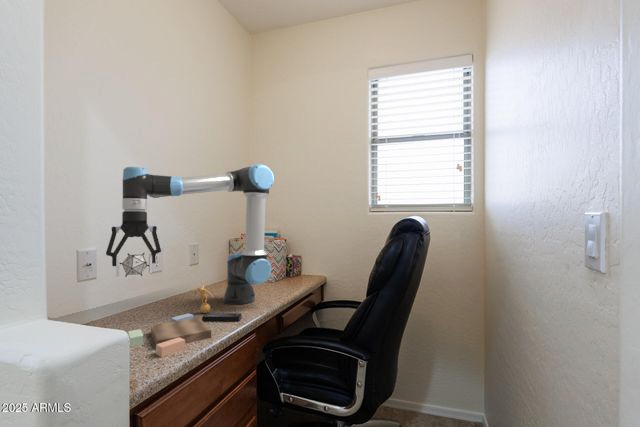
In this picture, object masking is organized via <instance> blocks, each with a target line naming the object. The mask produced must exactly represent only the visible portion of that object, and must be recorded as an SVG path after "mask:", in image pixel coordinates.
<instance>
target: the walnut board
mask: <svg viewBox="0 0 640 427" xmlns="http://www.w3.org/2000/svg"><path fill="white" fill-rule="evenodd" d="M150 335H151V336H152V339H153V341H154V344H155V345H156V344H159V343H163V342H166V341H169V340H172V339H175V338H178V337H180V338H182V339H184V340H185V344H188V343H192V342H197V341H202V340H207V339H211V338H212V329H211V328H210V327H209V326H208V324H206V322H203V321H202V318H200V317H194V318H193V319H187V320H181V321H176V322H171V321H170V322H165V323H160V324H153V325H150Z"/></svg>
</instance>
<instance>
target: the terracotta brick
mask: <svg viewBox="0 0 640 427" xmlns="http://www.w3.org/2000/svg"><path fill="white" fill-rule="evenodd" d="M183 349H184V350H186V343H185V340H184V339H182V338H180V337H178V338H175V339H172V340H169V341H166V342H163V343H159V344H155V355H157V356H159V357H160V358H163V357H164V358H165V357H167V356H169V355H172V353H173V354H174V353H178V352H181V351H183ZM166 355H167V356H166Z"/></svg>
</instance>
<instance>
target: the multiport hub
mask: <svg viewBox="0 0 640 427" xmlns="http://www.w3.org/2000/svg"><path fill="white" fill-rule="evenodd" d="M242 318H243V314H242V313H239V312H238V313H237V312H236V313H233V312H232V313H231V312H227V313H216V312H215V313H212V312H211V313H209V312H208V313H204V315H202V316H201V320H202V321H203V322H204V323H206V322H207V323H213V322H214V323H215V322H217V323H220V322H221V323H223V322H224V323H226V322H227V323H229V322H230V323H231V322H232V323H236V322H237V323H239V322H241V320H242Z"/></svg>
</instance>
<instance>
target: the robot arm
mask: <svg viewBox="0 0 640 427" xmlns="http://www.w3.org/2000/svg"><path fill="white" fill-rule="evenodd" d="M122 172H123V173H122V206H121V207H122V208H121V210H123V211H122V213H121V214H122V215H121V216H122V218H121V220H122V222H121V225H120V226H112V227H111V235H110V238H109V242H108V246H107V248H106V252H105V255H106V256H107V257H111V258H112V259H111V266H112V267H115V276H116V277H120V264H119V263H120V256H118V254H119V252H120V251H121V249H122V248H123V246H124V245H125V243H126V241H127V240H128V238H134V237H136V238H140V237H141V239H142V241H143V242H144V243H145V245H146V247H147V249H148V251H149V252H150V253H149V254H148V265H149V266H148V273H149V274H152V273H153V264H156V255H157V254H159V253H161V252H162V248H161V244H160V242H159V238H158V237H159V236H158V235H157V234H158V233H157V228H158V227H157V226H156V225H153V226H151V225H149V224H148V212H147V211H146V210H148V197H150V198H153V199H159V198H164V197H180V196H182V195H191V194H192V195H193V194H202V193H210V192H221V191H227V193H228V192H243V195H244V197H246V207H245V237H244V239H245V241H244V250H243V251H242V252H241V253H240V252H239V253H231V254H228V256H227V262H226V264H227V271H226V272H227V276H226V279H227V280H226V281H227V284H226V285H227V286H226V287H225V290H224V294H223V300H222V302H223V303H225V304H227V305H228V304H229V305H244V304H245V305H246V304H250V303H253V302H254V301H256V292H255V290H254V287H253V285H257V286H259V285H262V284H264V283H265V282H267V280H269V278H270V276H271V274H272V264H271V263H270V262H269V261H268V253H267V252H266V251H265V230H266V229H265V228H266V200H267V197H269V196H270V189H271V188H272V187H273V185H274V183H275V176H274V173H273V171H272V170H271V169H270V167H268V165H265V164H262V163H260V164H259V163H258V164H253V165H250V166H245V167H242V168H239V169H236V170H232V171H226V172H225V173H221V174H220V173H219V174H207V175H194V176H193V175H192V176H181V177H179V176H174V175H159V174H157V175H156V174H150V173H149V172H148V170H147V168H144V167H140V166H127V167H125V168H123V170H122ZM120 230H121V231H122V233H124V234H123V236H122V238H121V240H120V241H119V243H118V244H117V246H116V247H115V249H114V251H113V252H112V250H113V246H114V244H115V240H116V237H117V234H118V233H119V232H120ZM147 230H149V232H151V235H152V239H153V243H154V245H155V249H154V247H153V245H152V244H151V242H150V241H149V239H148V237H147V236H146V232H147Z"/></svg>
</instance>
